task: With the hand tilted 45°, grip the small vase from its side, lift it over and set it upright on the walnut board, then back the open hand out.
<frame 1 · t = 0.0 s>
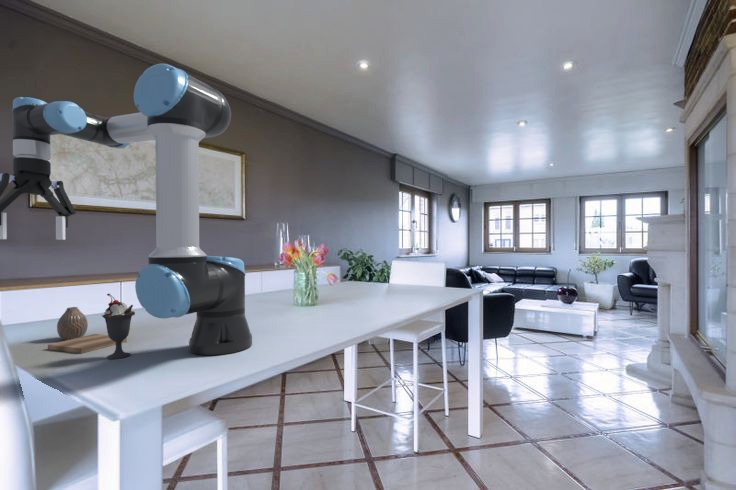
hand: (32, 239, 101), 28 cm above the table, tool pointing down, fingers open, 13 cm apart
sundae: (118, 357, 91), on the table
vase: (72, 339, 108), on the table
walnut board: (88, 345, 101), on the table
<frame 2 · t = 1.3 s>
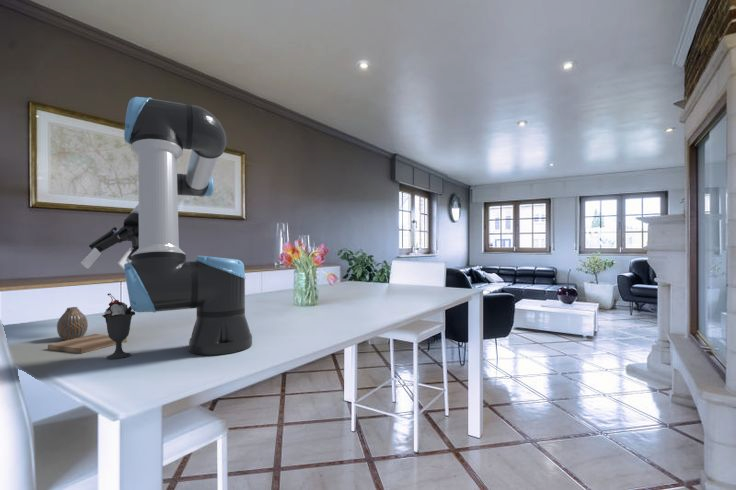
hand: (102, 266, 118), 20 cm above the table, tool tilted 45°, fingers open, 13 cm apart
sundae: (118, 357, 91), on the table, touching arm
everything else where it was.
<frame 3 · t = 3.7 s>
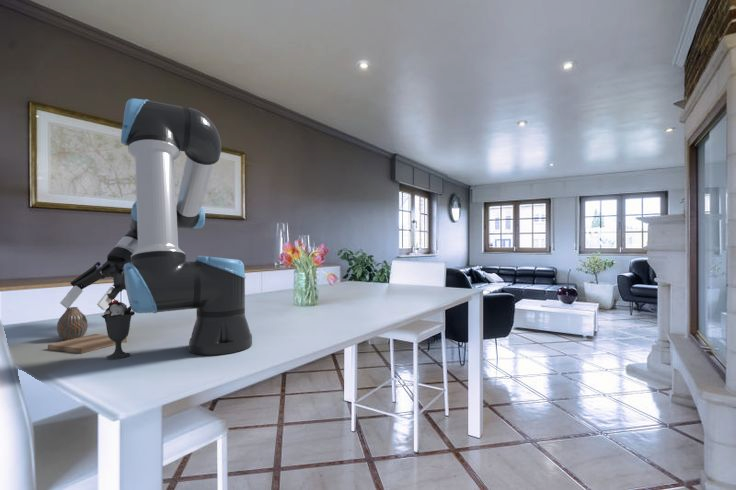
hand: (82, 306, 112), 8 cm above the table, tool tilted 45°, fingers open, 13 cm apart
sundae: (118, 357, 91), on the table
everything else where it was.
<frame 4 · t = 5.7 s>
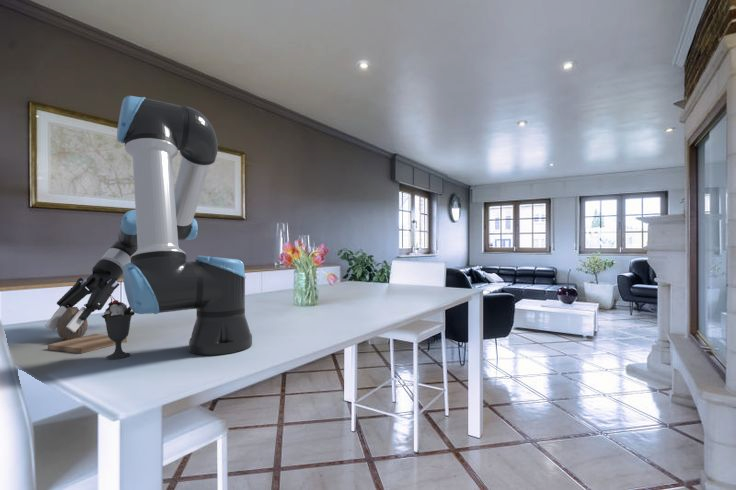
hand: (59, 328, 105), 4 cm above the table, tool tilted 45°, fingers closed on vase, 7 cm apart
vase: (72, 339, 108), on the table, touching gripper
everything else where it was.
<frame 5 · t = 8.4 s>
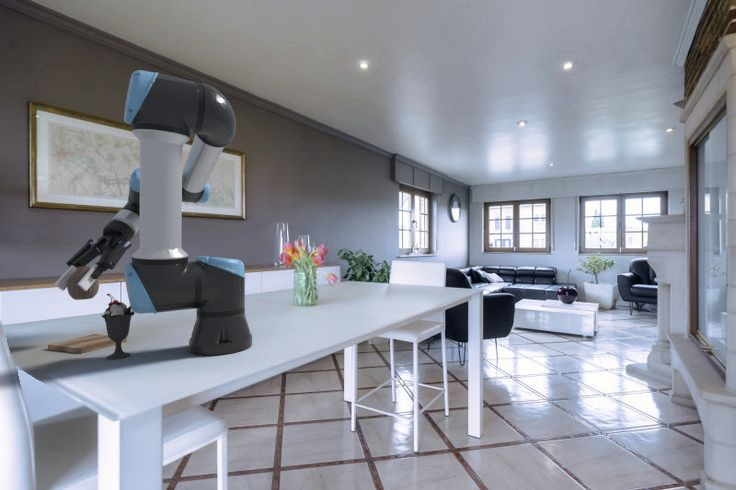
hand: (70, 287, 100), 15 cm above the table, tool tilted 45°, fingers closed on vase, 7 cm apart
vase: (83, 299, 103), point 12 cm above the table, touching gripper
everything else where it was.
when the fingers open (6 cm above the table, at t = 11.3 s): vase drops 1 cm, resting on walnut board.
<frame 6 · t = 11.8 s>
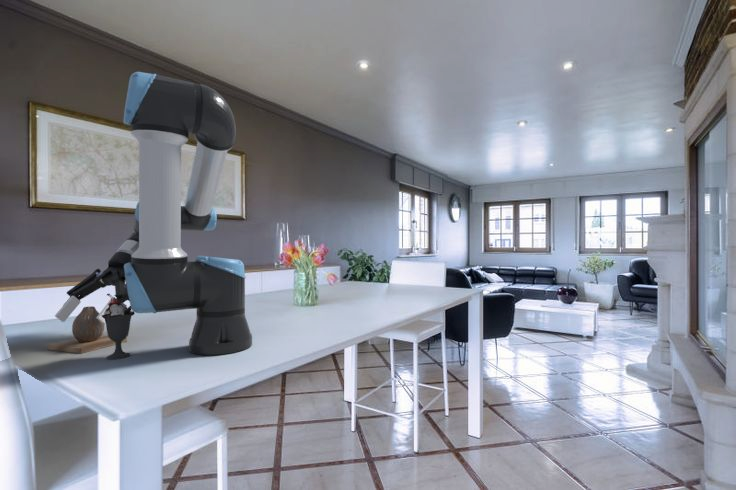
hand: (79, 320, 98), 7 cm above the table, tool tilted 45°, fingers open, 13 cm apart
vase: (88, 341, 101), point 1 cm above the table, touching walnut board
everything else where it was.
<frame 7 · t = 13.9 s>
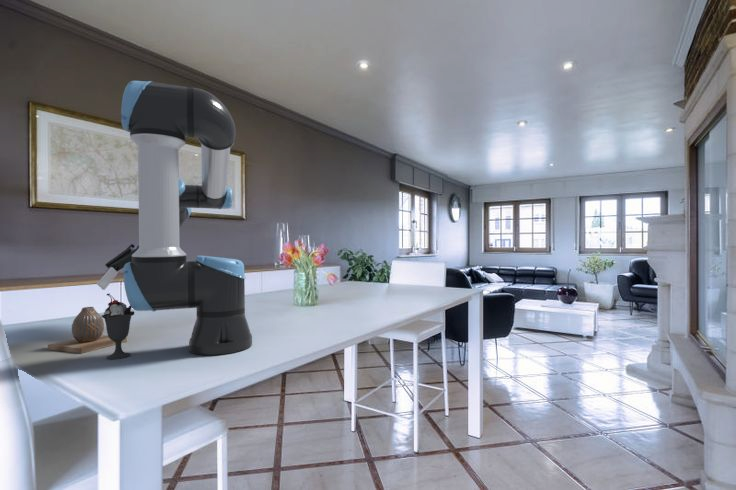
hand: (119, 287, 110), 14 cm above the table, tool tilted 45°, fingers open, 13 cm apart
sundae: (118, 357, 91), on the table, touching arm
everything else where it was.
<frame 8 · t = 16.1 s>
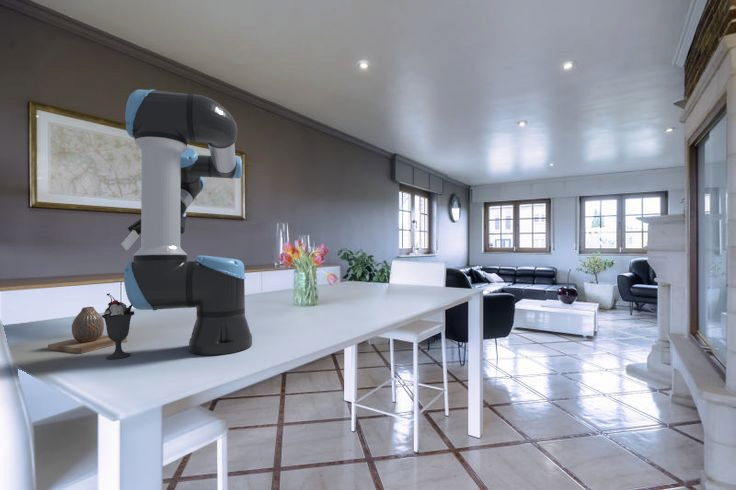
hand: (142, 247, 119), 26 cm above the table, tool tilted 45°, fingers open, 13 cm apart
nothing on the table moved.
at the end: vase inside the target area on the walnut board (0.2 cm from its centre), point 1.0 cm above the walnut board's base; vase tilted 0°; the gripper is holding nothing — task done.
